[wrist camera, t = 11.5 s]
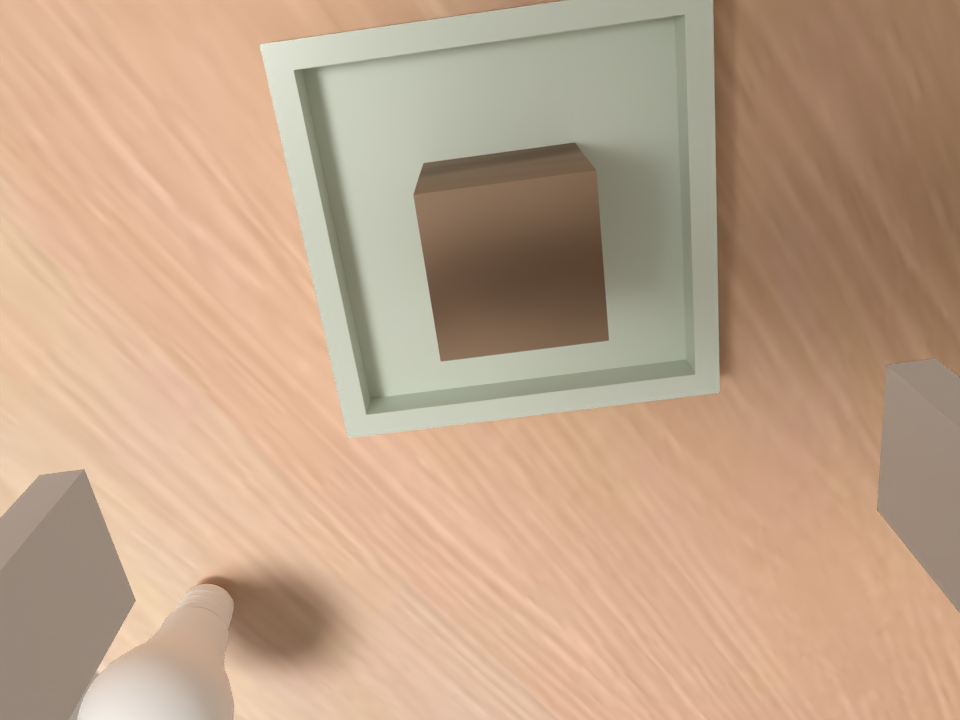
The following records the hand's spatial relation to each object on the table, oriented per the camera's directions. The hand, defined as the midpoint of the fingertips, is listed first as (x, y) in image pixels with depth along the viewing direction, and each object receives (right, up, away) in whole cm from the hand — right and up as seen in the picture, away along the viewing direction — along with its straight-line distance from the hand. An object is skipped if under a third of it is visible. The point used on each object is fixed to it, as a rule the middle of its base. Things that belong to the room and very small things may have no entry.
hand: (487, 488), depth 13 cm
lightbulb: (-14, -10, +28) cm, 32 cm away
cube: (+1, +8, +20) cm, 21 cm away
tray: (+1, +8, +20) cm, 22 cm away
